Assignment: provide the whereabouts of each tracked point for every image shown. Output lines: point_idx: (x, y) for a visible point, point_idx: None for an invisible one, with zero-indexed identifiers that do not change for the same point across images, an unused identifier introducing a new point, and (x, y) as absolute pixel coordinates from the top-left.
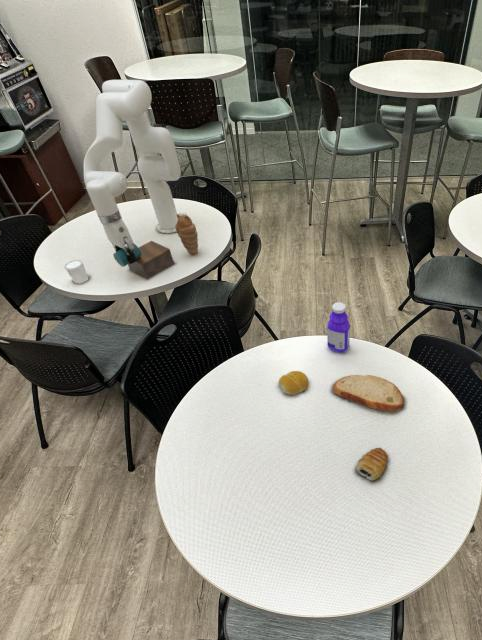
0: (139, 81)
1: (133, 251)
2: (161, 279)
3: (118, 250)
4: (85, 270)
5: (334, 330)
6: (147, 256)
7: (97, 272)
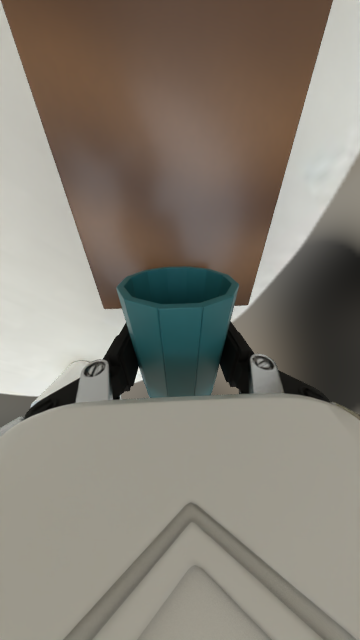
0: None
1: (275, 365)
2: (266, 253)
3: (132, 374)
4: (77, 378)
5: None
6: (223, 236)
7: (76, 342)
